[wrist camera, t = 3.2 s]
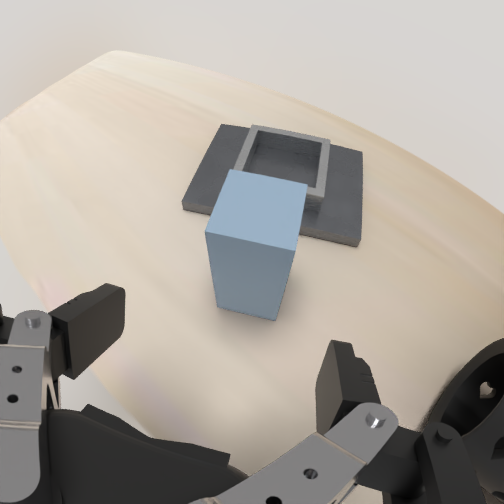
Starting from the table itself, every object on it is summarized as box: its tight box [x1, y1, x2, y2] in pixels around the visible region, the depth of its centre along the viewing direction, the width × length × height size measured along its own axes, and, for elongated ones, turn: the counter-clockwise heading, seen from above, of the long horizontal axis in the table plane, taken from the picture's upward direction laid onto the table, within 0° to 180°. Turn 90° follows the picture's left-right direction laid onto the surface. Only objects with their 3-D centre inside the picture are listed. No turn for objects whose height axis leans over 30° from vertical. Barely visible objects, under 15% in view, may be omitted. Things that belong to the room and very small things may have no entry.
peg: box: [205, 169, 308, 321], centre depth 21 cm, size 4×4×10 cm
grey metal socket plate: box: [182, 124, 363, 247], centre depth 30 cm, size 16×12×3 cm
